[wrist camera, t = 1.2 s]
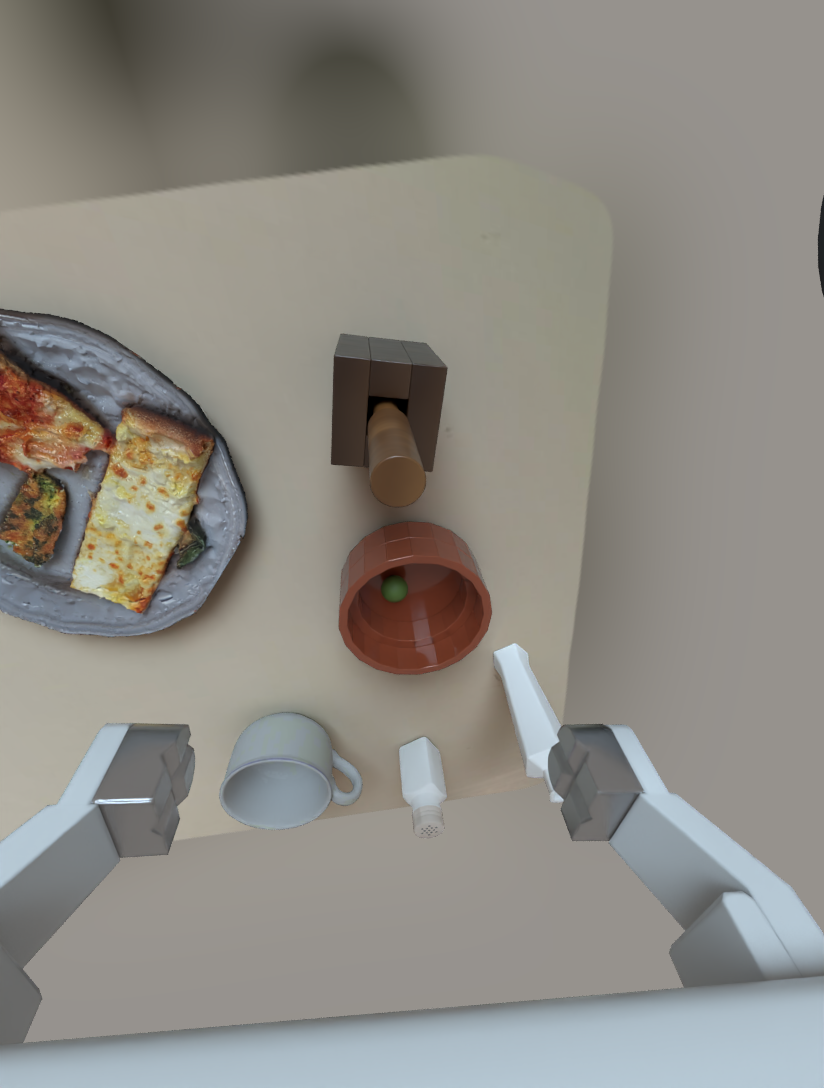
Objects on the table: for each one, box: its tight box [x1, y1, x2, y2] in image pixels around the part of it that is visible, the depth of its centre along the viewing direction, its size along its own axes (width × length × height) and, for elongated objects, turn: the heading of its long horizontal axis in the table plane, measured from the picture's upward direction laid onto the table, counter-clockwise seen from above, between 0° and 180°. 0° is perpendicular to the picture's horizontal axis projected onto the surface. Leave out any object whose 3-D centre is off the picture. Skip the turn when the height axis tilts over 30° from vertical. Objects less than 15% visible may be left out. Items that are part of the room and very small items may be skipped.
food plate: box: [0, 309, 248, 637], centre depth 34 cm, size 25×23×4 cm
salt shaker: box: [399, 737, 447, 838], centre depth 51 cm, size 4×4×10 cm
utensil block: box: [331, 334, 447, 472], centre depth 29 cm, size 6×6×9 cm
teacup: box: [219, 713, 363, 830], centre depth 49 cm, size 14×11×8 cm
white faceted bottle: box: [493, 644, 564, 802], centre depth 43 cm, size 5×4×15 cm
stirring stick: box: [368, 396, 426, 507], centre depth 25 cm, size 2×2×18 cm
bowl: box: [339, 522, 492, 674], centre depth 40 cm, size 12×12×6 cm
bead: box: [381, 575, 408, 603], centre depth 41 cm, size 2×2×2 cm
